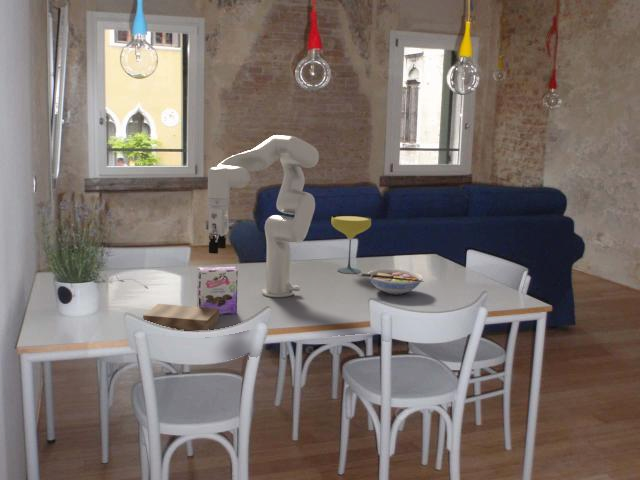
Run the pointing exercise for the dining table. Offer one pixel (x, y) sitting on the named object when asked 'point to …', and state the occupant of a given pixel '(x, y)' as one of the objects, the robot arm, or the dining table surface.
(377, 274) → the ramen bowl
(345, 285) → the dining table surface
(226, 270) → the candy box
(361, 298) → the dining table surface
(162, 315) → the walnut base
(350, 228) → the cocktail glass
